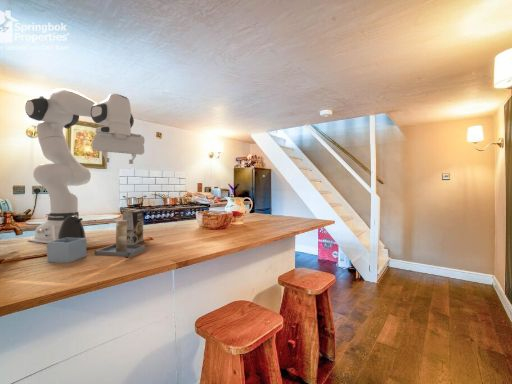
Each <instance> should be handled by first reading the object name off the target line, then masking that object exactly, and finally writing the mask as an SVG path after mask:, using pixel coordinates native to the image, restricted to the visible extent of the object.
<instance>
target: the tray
mask: <svg viewBox="0 0 512 384" xmlns="http://www.w3.org/2000/svg"><path fill="white" fill-rule="evenodd" d="M146 247H147V246H146V245H143V244H141V245H140V244H135V245H127V251H124V252H117V251H116V243H113V244H111V245H107V246H105V247H102V248H99V249H97V250H94V255H98V256H99V255H100V256H115V257H116V256H118V257H124V259H131V258H132V257H135V256H137V255H138V254H141V253H142V252H145V251H146Z"/></svg>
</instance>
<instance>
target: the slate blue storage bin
mask: <svg viewBox="0 0 512 384" xmlns="http://www.w3.org/2000/svg"><path fill="white" fill-rule="evenodd" d="M86 257H87V237H86V238H72V237H66V238H62V239H58V240H54V241H50V242H47V243H46V262H47V263H49V262H50V263H65V264H66V263H67V264H69V263H71V262H75V261H77V260H79V259H82V258H86Z"/></svg>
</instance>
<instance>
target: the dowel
mask: <svg viewBox="0 0 512 384" xmlns="http://www.w3.org/2000/svg"><path fill="white" fill-rule="evenodd" d="M115 223H116V224H115V227H116V228H115V233H116V234H115V244H116V251H117V252H124V251H127V220H123V219H122V220H120V219H119V220H115Z"/></svg>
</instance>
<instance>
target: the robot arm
mask: <svg viewBox="0 0 512 384" xmlns="http://www.w3.org/2000/svg"><path fill="white" fill-rule="evenodd" d="M24 106H25V108H24V109H25V113H26V115H27V116H28V117H29V118H30V119H32V120H35V121H37V122H39V123H38V124H37V125H36V134H37V135H36V136H37V138H38V142H39V144H40V148H41V151H42V154H43V157H44V158H45V159H47V160H48V161H50V162H52V163H41V164H38V165H37V166H36V167H35V168H34V170H33V173H32V174H33V178H34V180H35V181H36V183H38V184H39V185H41V186H42V187H43V188H44V190H46V192H47V194H48V198H49V202H50V204H49V205H50V213H47V214H45V217H47V220H45V221H44V222H43V223H41V224H40V225H38V226H37V227H35V230H34V236H33V237H29V238H27V241H28V242H33V243H34V242H35V243H42V244H43V243H44V244H47V242H50V241H54V240H57V239H58V234H59V230H60V227H61V225H62V223H63V221H64V220H65V219H66V218H67V217H69V216H76V217H78V218H79V217H80V216H79V215H80V214H79V210H78V205H79V204H78V196H76V194H74V193H71V191H70V190H69V188H68V186H70V187H71V186H74V187H79V186H82V185H86V184H88V183H89V182H90V180H91V172H90V170H89V169H88V167H85V166H84V165H83V164H81V163H80V162H79V161H77V159H76V158H75V157H74V155H73V154H72V152H71V149H70V147H69V145H68V142H67V139H66V137H65V134H64V131H63V130H64V128H65V129H71V127H73V126H75V125H76V124H77V123H78V122H79V120H80V116H81V117H87V118H91V119H92V121H93V122H94V123H95V124H98V125H101V126H98V127H96V128H95V134H94V135H93V138H92V143H91V149H92V150H93V151H95V152H101V155H102V156H103V158H104V162H105V163H110V158H109V157H108V156H107V155H106V154H107V153H116V154H117V153H118V154H130V155H131V157H132V158H131V159H128V164H131V165H134V160H135V159H136V157H137V155H141V156H142V155H143V154H144V153H145V145H144V144H145V137H144V136H143V135H142V134H138V133H137V134H136V133H131V132H132V131H131V130H132V127H133V126H134V122H135V120H134V116H133V114H132V111H131V110H132V109H131V103H130V99H129V98H128V97H127V96H124V95H121V94H118V93H109V95H108V96H107V98H106V99H104V100H103V101H101V102H96V101H95V100H92V99H90V98H88V97H86V96H85V95H83V94H81V93H79V92H78V91H74V90H71V89H67V88H56V89H53V90H52V91H51V92H50V95H49V97H47V98H46V97H44V96H38V97H33V98H29V99H28V100H27V101H26V103H25V105H24ZM79 219H80V218H79Z"/></svg>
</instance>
